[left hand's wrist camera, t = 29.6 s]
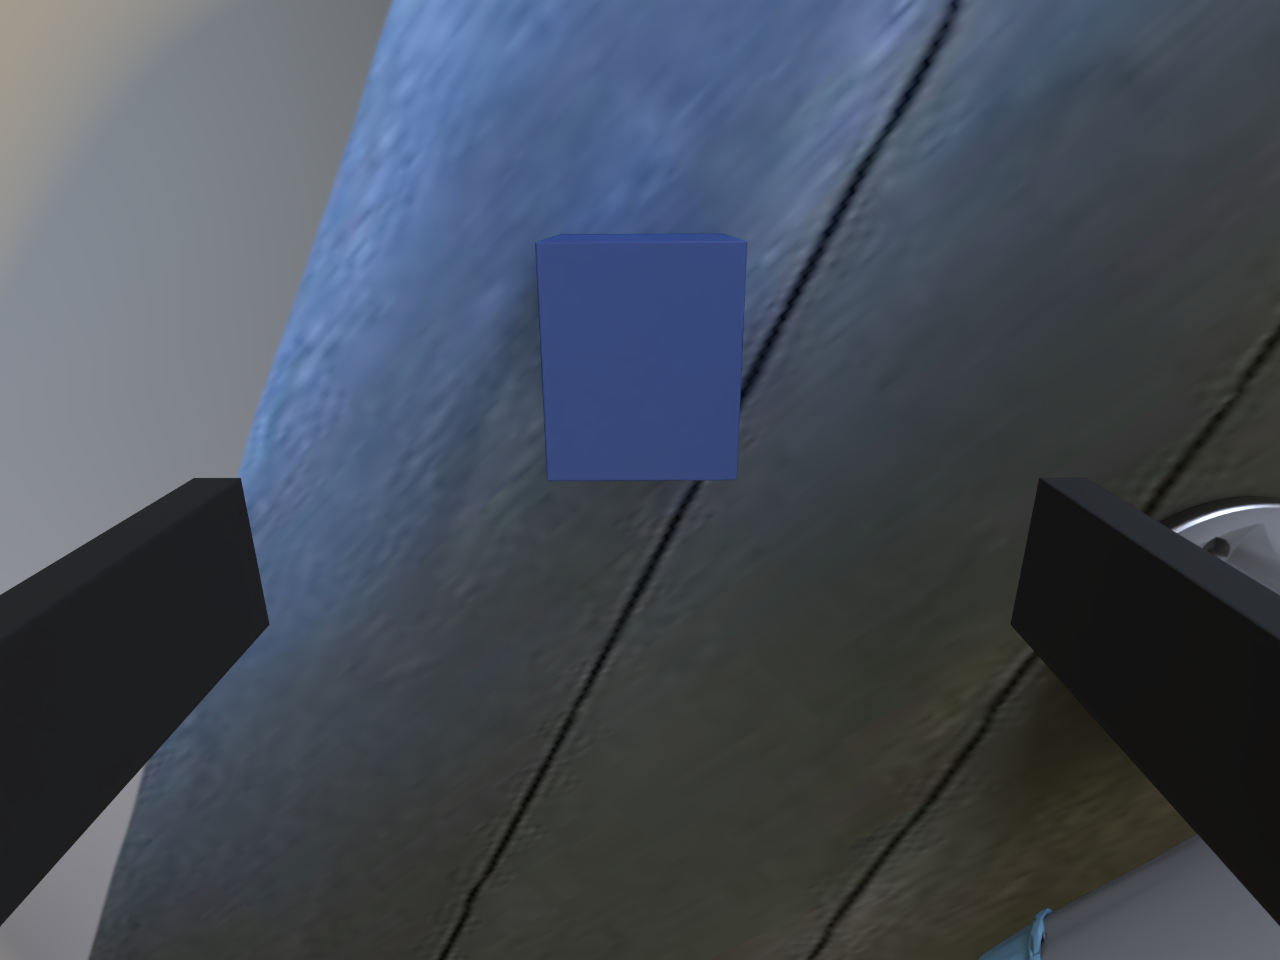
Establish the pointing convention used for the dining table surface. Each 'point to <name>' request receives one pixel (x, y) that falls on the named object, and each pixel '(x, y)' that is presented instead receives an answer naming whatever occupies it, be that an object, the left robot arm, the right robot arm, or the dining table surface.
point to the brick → (641, 355)
